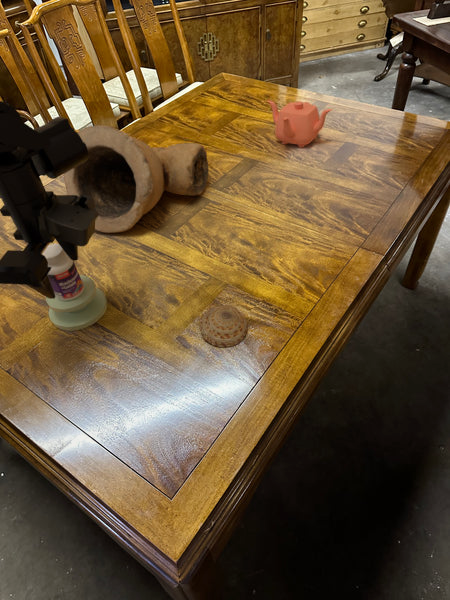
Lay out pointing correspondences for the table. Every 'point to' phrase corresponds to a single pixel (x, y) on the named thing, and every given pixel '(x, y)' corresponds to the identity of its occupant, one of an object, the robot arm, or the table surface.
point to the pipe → (133, 175)
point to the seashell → (223, 326)
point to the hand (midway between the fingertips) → (64, 278)
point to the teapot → (297, 122)
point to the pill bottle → (63, 273)
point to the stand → (78, 308)
